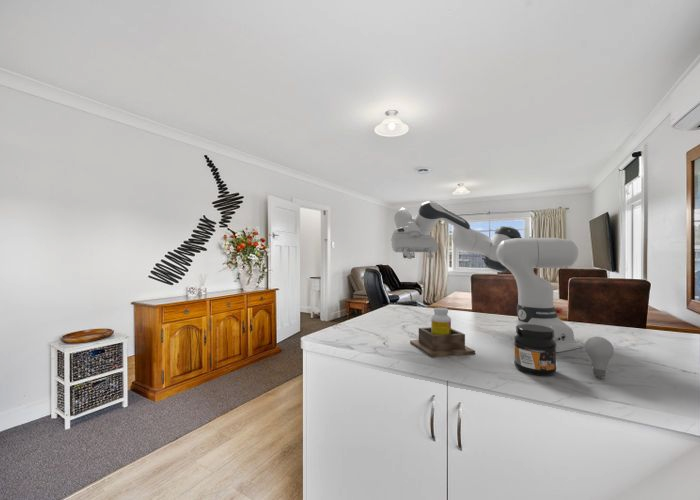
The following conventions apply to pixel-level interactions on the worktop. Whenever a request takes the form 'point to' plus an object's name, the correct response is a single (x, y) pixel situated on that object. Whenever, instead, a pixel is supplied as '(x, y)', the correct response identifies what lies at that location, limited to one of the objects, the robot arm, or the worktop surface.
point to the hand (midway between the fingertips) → (420, 257)
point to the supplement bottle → (440, 322)
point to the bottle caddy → (441, 343)
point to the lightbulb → (599, 354)
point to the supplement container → (535, 349)
